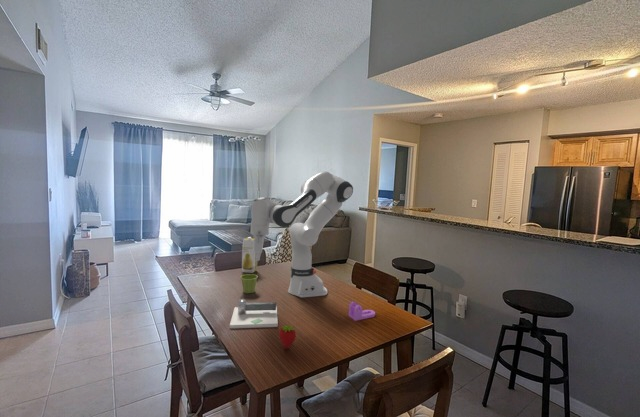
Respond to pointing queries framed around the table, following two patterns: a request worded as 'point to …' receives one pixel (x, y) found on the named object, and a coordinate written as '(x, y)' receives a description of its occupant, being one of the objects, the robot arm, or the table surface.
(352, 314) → the bracket
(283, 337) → the strawberry
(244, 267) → the juice carton
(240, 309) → the grey lever handle
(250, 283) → the plant pot
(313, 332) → the table surface
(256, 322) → the dial board
